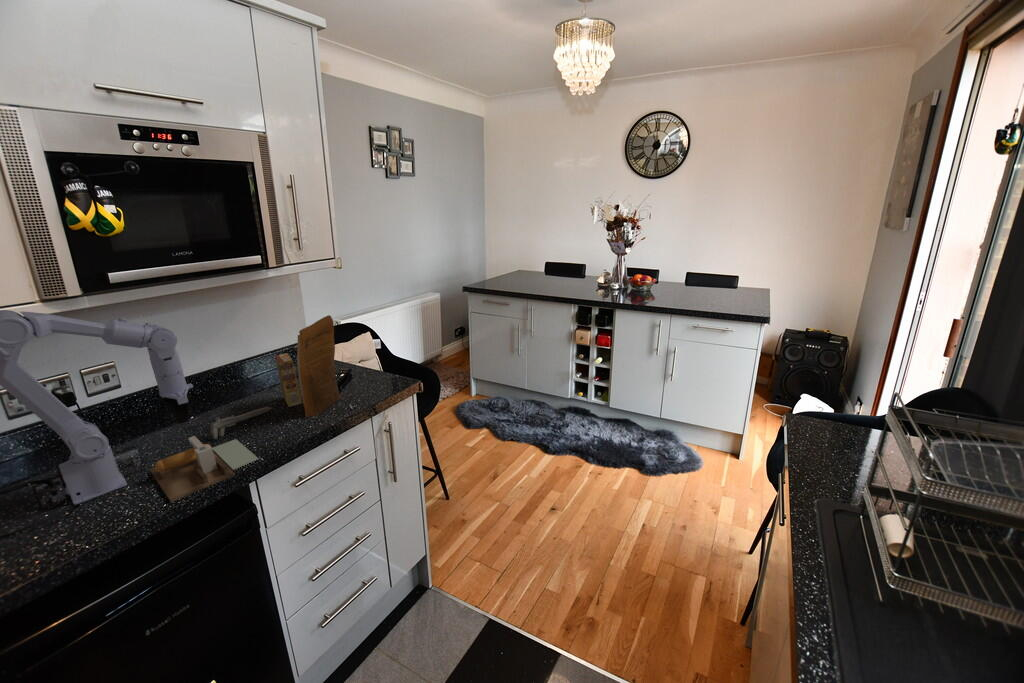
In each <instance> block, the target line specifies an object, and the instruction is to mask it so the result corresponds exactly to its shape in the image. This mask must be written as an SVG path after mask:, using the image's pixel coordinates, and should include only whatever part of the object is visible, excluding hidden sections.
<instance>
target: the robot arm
mask: <svg viewBox="0 0 1024 683" xmlns="http://www.w3.org/2000/svg"><path fill="white" fill-rule="evenodd" d="M55 333H56V334H66V335H74V336H83V337H93V338H94V337H95V338H101V339H102V340H103V342H104V343H106V344H107V345H114V346H121V347H129V348H137V349H142V348H146V349H147V352H148V355H149V360H150V364H151V367H152V370H153V374H154V378H155V381H156V384H157V388H158V391H159V392H158V394H159V396H160V397H162V398H161V399H160V400H161V401H162V402H163V403H164V405H166V406H167V407H168V409H169V410H170V412H171V413H172V415H173V418H174V419H175V421H176V422H177V423H178V424H179V425H180V424H184V423H186V422H189V419H190V418H189V417H190V414H189V413H190V412H189V410H190V409H189V408H190V407H189V406H190V403H191V400H192V396H191V394H189V390H190V389H193V388H194V384H192V383H187V381H186V377H185V374H184V371H183V367H182V363H181V361H180V357H179V353H178V352H177V351H178V350H177V348H176V345H177V344H178V336H176V335H175V334H174V332H173V331H172V330H171V329H169V328H165V327H164V326H161V325H157V324H153V323H151V322H146V323H145V324H144V323H139V322H138V323H137V322H132V321H131V322H130V321H128V319H127V318H123V317H118V319H110V320H109V321H107V322H104V323H102V322H101V323H100V322H95V321H90V320H84V319H78V318H72V317H66V316H61V315H58V314H57V315H56V314H50V313H42V312H32V311H19V312H16V311H14V310H9V309H0V387H2V388H3V389H5V390H6V391H7V393H9V394H10V395H11V396H13V397H14V399H16V400H18V401H19V403H21V404H22V405H23V406H25V407H26V408H27V409H28V410H29V411H30V412H31V413H33V414H34V415H35V416H37V417H38V418H39V419H40V420H41V421H42V422H43V423H45V424H46V425H47V426H48V427H49V428H50V429H52V430H53V431H54V432H55V433H56V434H57V435H58V436H59V437H60V438H61V439H62V440H63V442H64V444H65V445H66V446H67V447H68V448H69V450H70V456H68V459H69V460H67V461H65V462H63V463H59V464H58V467H59V470H60V472H61V473H60V474H61V475H62V476H61V477H62V478H63V481H64V484H65V491H66V494H67V495H68V496H70V498H71V501H72V504H73V505H75V506H76V505H78V504H82V503H84V502H87V501H90V500H92V499H94V498H97V497H100V496H102V495H105V494H108V493H110V492H113V491H115V490H119V489H121V488H123V487H126V486H128V483H127V481H126V479H125V477H124V476H123V474H122V472H120V471H119V467H118V465H117V461H116V459H115V456H114V455H115V454H114V453H113V451H112V448H111V445H109V444H110V442H109V439H108V437H107V436H106V435H104V434H103V433H102V431H101V430H100V428H99V427H98V426H97V425H96V424H95V423H91V422H88V421H85V420H83V419H82V418H81V417H80V416H78V415H77V414H76V413H74V412H73V411H72V410H71V409H70V408H69V407H67V406H66V405H65V404H64V403H63V402H62V401H61V400H59V398H58V397H56V396H55V394H53V393H52V392H51V391H50V390H48V388H46V386H44V385H43V384H42V383H41V382H39V381H38V380H37V379H36V378H35V377H34V376H33V375H32V374H31V373H30V372H28V370H26V369H25V368H24V367H23V366H22V365H21V364H20V363H18V359H19V357H20V354H21V350H22V349H23V348H24V346H25V345H26V344H27V343H28V342H29V341H30V340H31V338H32V337H33V335H34V336H35V338H37V339H40V338H42V337H45V336H47V335H52V334H55Z"/></svg>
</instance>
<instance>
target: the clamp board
mask: <svg viewBox="0 0 1024 683" xmlns="http://www.w3.org/2000/svg"><path fill="white" fill-rule="evenodd" d="M213 454H214V457H215V461H216V465H217V468H218V469H215V470H213V471H210V472H208V473H206V474H205V473H204V472H203V471H202V470H201V469H200V467H199V465H198V462H197V460H194V461H192V462H189V463H186V464H184V465H181V466H178V467H176V468H173V469H168V470H165V471H162V472H158V471H157V470H156V469H155V466H154V467H152V468H149V472H150V473H151V475H152V476H153V478H154V479H155V481H156V482H157V484H158V486H160V488H161V490H162V491H163V493H164V494H165V495H166V498H167V499H168V500H169V502H170V503H173V502H175V501H177V500H179V499H182V498H185V497H187V496H189V495H192V494H194V493H196V492H199V491H201V490H203V489H206V488H208V487H210V485H211V486H213V485H216V484H217V483H220V482H222V481H225V480H227V479H229V478H232V477H234V476H235V472H234V471H233V470H232V469H231V468H230V467H229V466H228V465H227V464H226V463H225V462H224V461H223V460H222V459H221V458H220V457H219V456H218V455H217V454H216V453H215V452H214V451H213Z"/></svg>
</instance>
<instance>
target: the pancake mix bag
mask: <svg viewBox="0 0 1024 683" xmlns="http://www.w3.org/2000/svg"><path fill="white" fill-rule="evenodd" d="M333 320H334V319H333V318H332V316H331V315H326V316H324V317H322V318H320V319H319V320H316V321H315V322H314V323H312V324H310V325H308V326H306V327H304V328H302V329H301V330H299V331H298V333H299V334H297V351H296V352H297V357H296V358H297V370H298V377H299V378H298V379H299V385H300V389H301V397H302V398H301V399H302V401H303V402H302V403H303V407H304V411H305V412H304V414H305V418H309V417H315V416H318V415H320V414H321V415H322V413H323V412H325V411H326V410H328V409H329V408H330V407H332V406H333V405H334V404H336V403H338V402H339V401H341V394H340V392H339V387H338V386H339V385H338V382H337V374H336V367H335V365H336V364H335V356H336V355H335V354H336V345H335V344H336V343H335V325H334V321H333Z"/></svg>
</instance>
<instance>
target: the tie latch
mask: <svg viewBox="0 0 1024 683" xmlns="http://www.w3.org/2000/svg"><path fill="white" fill-rule="evenodd" d="M187 439H188V441H189V444H190V445H191V446H192V448H195V450H194V451H195V455H196V458H197V462H198V465H199V467H200V469H201V470H202V471H203V472H204V473H205V474H206V473H208V472H210V471H213V470H215V469H218V468H217V465H216V461H215V457H214V454H213V452H214V451H213V450H212V448H213V447H212V446H211V445H210V444H209V445H210V446H211V447H212V448H211V447H210V446H209V445H206V446H204V445H203V443H202V441H200V440H199V438H197V437H196V436H195V435H193V436H191V437H188V438H187Z"/></svg>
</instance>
